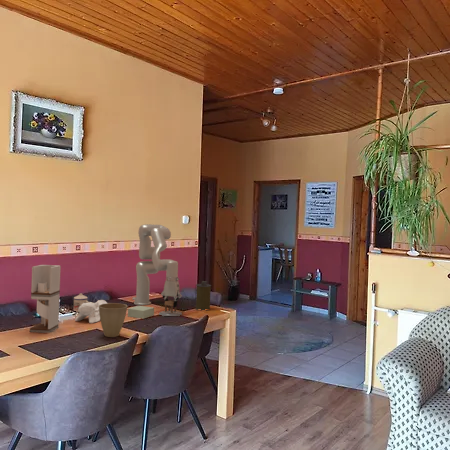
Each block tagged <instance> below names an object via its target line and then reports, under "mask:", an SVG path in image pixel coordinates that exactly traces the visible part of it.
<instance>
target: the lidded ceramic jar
mask: <svg viewBox="0 0 450 450" xmlns="http://www.w3.org/2000/svg"><path fill="white" fill-rule="evenodd" d="M89 302H90V301H88V296H86V295H83V293H79V294H78V295H76V296H74V297H73V309H72V310H74V311H76V312H75V313H79V312H78V308H79V307H80V306H81V305H82V304H83V303H89ZM74 311H73V312H74Z"/></svg>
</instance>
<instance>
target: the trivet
mask: <svg viewBox="0 0 450 450" xmlns="http://www.w3.org/2000/svg"><path fill="white" fill-rule="evenodd" d="M158 315H159V316H160V315H162V316H161V317H164V316H178V317H180V315H181V316H182V315H183V313H182V311H178V310H176V312H174V310H173V313H171V310H170V311H168V310H167V312H165V310H162V311H159V313H158Z"/></svg>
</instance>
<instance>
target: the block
mask: <svg viewBox="0 0 450 450" xmlns="http://www.w3.org/2000/svg"><path fill="white" fill-rule="evenodd" d="M154 315H155V307H153V306H151V307H150V306H146V305H135V306H133V307H132V306H131V307H129V308H127V317H128V318H129V317H130V318H137V319H141V318H142V319H147V318H149V317H153V316H154Z"/></svg>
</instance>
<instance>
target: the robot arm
mask: <svg viewBox="0 0 450 450" xmlns="http://www.w3.org/2000/svg"><path fill="white" fill-rule="evenodd" d="M171 235H172V232H171V231H170V228H168V227H166V226H164V225H161V224H153V223H152V224H151V223H150V224H146V223H145V224H141V225H140V226H139V228H138V237H139V243H138V245H139V246H138V257H139V259H140V260H143V261H138V262H137V263H136V266H135V270H136V293H135V294H136V295H135V296H133V297H132V298H131V300H132V301H133V304H134V305H135V306H148V305H151V304H152V302H151V301H150V287H151V286H150V285H151V284H150V283H151V282H150V281H151V280H150V277H149V276H148V275H151V274H153V275H155V274H157V273H158V272H162V271H163V272H164V271H165V272H166V274H165V275H166V276H165V281H164V286H163V290H162V292H161V293H160V295H161V296H162V298H163V300H164V302H165V301H168V300H169V297H170V298H173V301H174V305H173V308H174V307H176V308H177V307H178V301H179V300H180V299H181V298H182V297H183V295H182V294H181V292H180V282H179V280H180V278H179V276H178V274H179V262H178V261H176V260H173V259H170V258H169V259H167V258H166V259H161V252H164V251H165V250H166V249H167V248H168V244H167V242H166V240H167V241H168V240H169V239H170V238H171V237H172V236H171ZM152 243H153V246H152ZM146 260H147V261H146ZM168 306H169V305H167V307H168Z"/></svg>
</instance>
